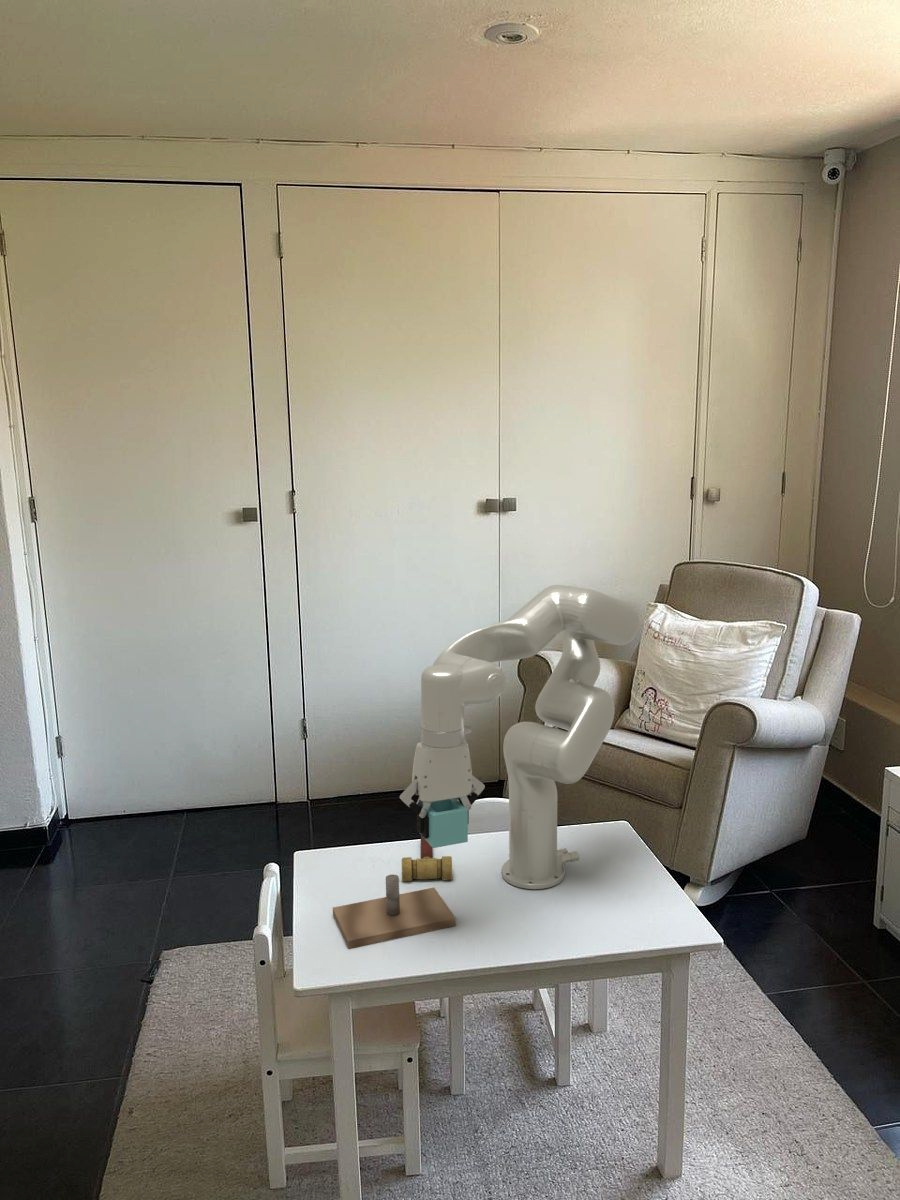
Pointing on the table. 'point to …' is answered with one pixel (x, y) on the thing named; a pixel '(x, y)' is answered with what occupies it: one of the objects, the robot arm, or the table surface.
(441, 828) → the collar
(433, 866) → the gavel
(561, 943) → the table surface
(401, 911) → the post stand
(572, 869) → the table surface
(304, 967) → the table surface
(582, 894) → the table surface
